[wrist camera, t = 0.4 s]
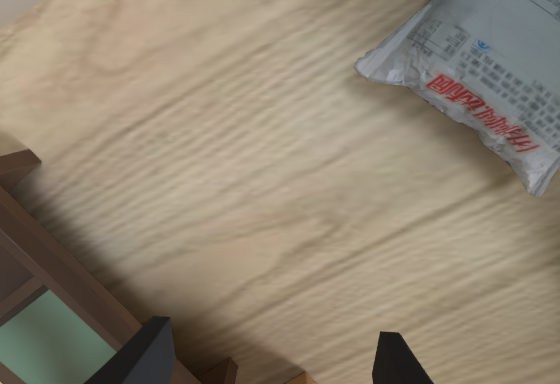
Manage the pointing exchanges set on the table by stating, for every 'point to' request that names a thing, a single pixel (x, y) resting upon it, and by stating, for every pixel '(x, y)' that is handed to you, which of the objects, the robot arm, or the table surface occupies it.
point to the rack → (58, 304)
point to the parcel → (302, 379)
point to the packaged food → (485, 75)
